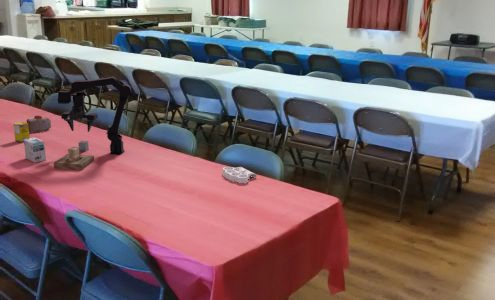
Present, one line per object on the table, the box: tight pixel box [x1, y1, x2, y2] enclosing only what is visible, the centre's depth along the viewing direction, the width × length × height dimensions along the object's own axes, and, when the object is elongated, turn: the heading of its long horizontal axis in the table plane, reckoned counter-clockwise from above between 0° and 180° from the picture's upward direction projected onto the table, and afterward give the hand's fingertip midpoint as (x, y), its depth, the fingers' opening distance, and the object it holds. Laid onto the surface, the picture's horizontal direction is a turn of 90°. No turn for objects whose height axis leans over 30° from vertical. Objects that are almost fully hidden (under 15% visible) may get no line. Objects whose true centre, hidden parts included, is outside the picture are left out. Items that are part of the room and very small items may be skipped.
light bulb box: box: [23, 137, 47, 163], centre depth 282 cm, size 11×7×11 cm, turn 47°
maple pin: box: [67, 146, 81, 162], centre depth 276 cm, size 4×4×9 cm
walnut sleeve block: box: [53, 153, 95, 171], centre depth 277 cm, size 15×15×3 cm
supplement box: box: [13, 121, 31, 144], centre depth 314 cm, size 6×6×11 cm
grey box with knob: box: [26, 115, 52, 134], centre depth 337 cm, size 14×8×10 cm, turn 133°
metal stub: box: [77, 140, 89, 153], centre depth 300 cm, size 4×4×5 cm
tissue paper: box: [222, 166, 257, 184], centre depth 264 cm, size 3×18×15 cm
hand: (80, 131), depth 290 cm, fingers open, 9 cm apart
